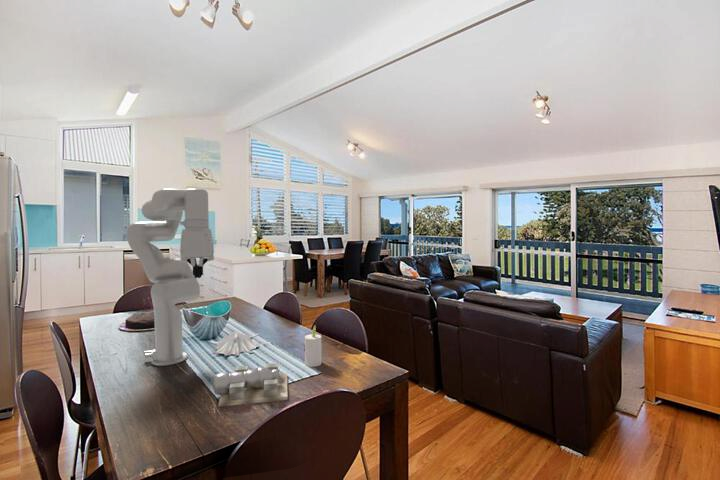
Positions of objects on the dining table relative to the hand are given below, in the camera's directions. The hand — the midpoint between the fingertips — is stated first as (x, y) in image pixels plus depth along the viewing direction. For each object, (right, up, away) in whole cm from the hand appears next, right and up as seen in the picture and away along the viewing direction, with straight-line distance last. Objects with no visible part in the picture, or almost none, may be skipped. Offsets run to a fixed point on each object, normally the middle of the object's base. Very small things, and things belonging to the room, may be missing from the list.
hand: (198, 277), depth 126 cm
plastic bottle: (+11, -32, -15) cm, 37 cm away
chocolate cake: (-55, -32, +66) cm, 91 cm away
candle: (+38, -35, +13) cm, 53 cm away
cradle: (+23, -36, -9) cm, 43 cm away
